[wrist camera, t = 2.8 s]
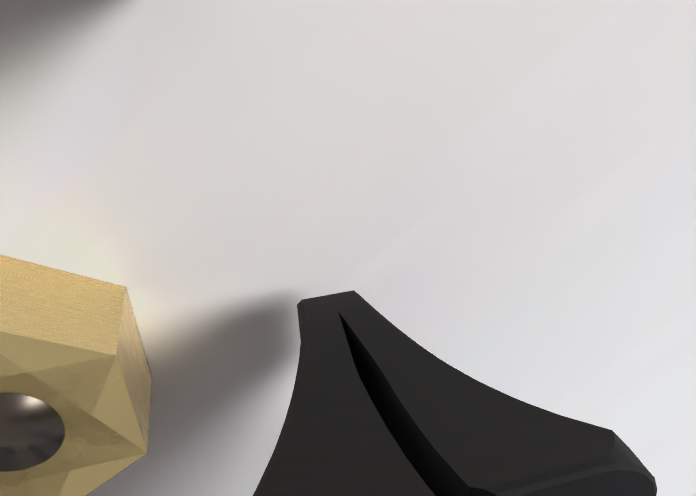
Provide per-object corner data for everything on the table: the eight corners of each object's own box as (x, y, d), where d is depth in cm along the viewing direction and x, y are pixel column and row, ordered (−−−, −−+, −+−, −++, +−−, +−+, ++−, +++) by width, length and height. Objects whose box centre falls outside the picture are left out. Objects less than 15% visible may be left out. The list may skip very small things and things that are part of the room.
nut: (194, 346, 14) (197, 418, 12) (26, 465, 14) (1, 554, 12) (42, 214, 12) (13, 276, 9) (-154, 361, 12) (-224, 452, 10)
